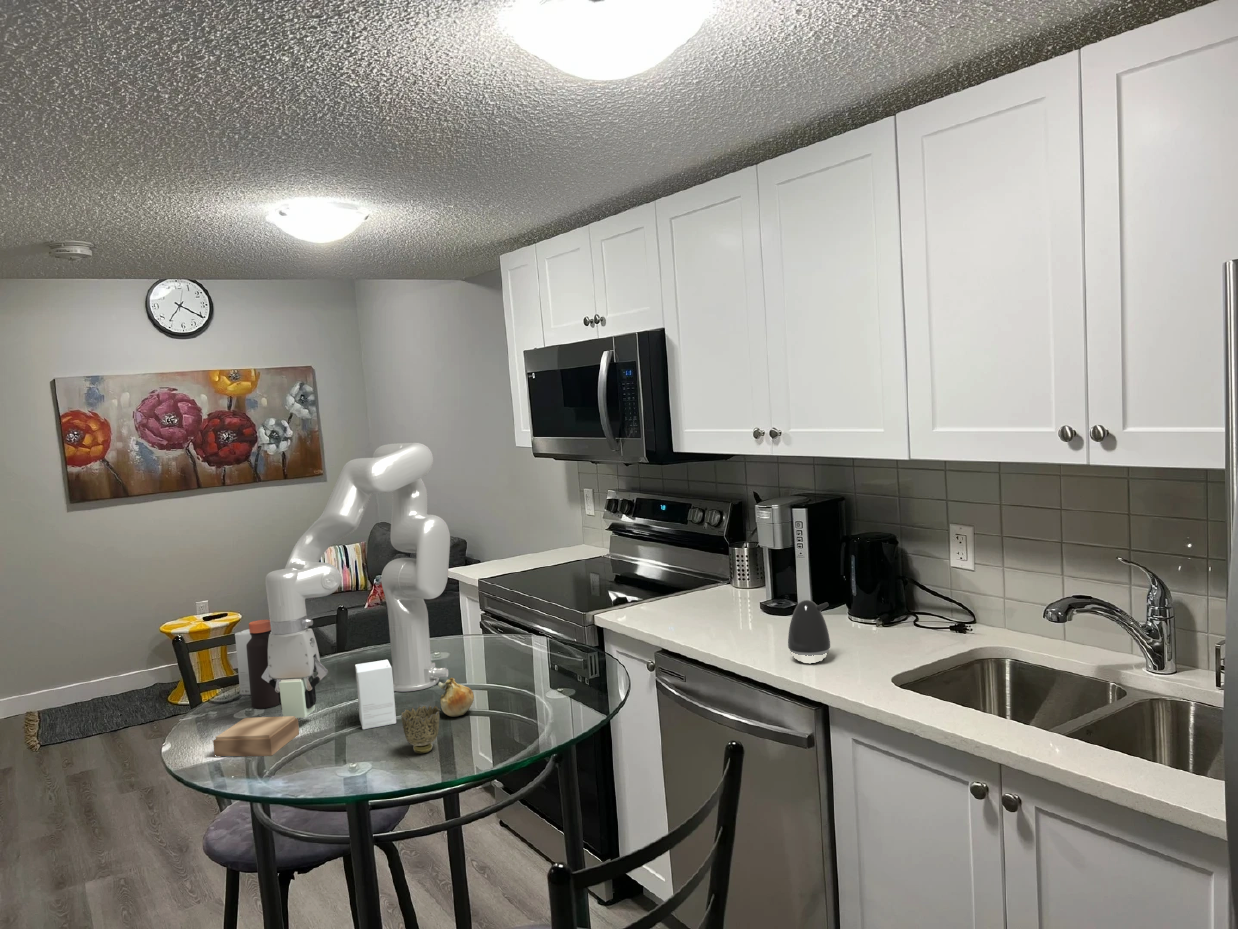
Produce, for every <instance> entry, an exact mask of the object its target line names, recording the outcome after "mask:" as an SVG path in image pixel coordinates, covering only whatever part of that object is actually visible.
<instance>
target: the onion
mask: <svg viewBox="0 0 1238 929" xmlns="http://www.w3.org/2000/svg"><path fill="white" fill-rule="evenodd" d="M437 686H438V688H439V689H440V690H442V691H444V692H443V693H442V694H441V695H440V698H439V699H440V700H439V702H440V707H441V710H442V712H443V713H444V714H445V715H447V716H448V717H453V718H455V717H459V716H464V715H465V714H466V713H467V712H468V711H469V710H470V708H471V707H472V705H473V704H474V700H475V696H474V692H473V690H472V689H471V688H470V687H468V686H465V685H464V684H460V683H457V682H456V679H455V678H454V677H450V678H449V679H446V681H445V682H441V681H439V682H438V683H437Z"/></svg>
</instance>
